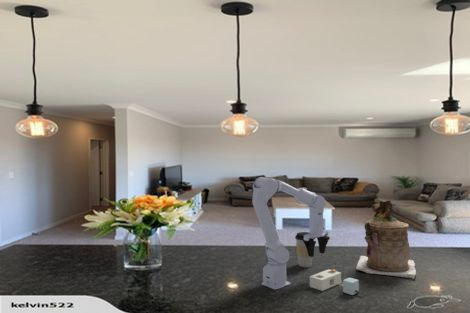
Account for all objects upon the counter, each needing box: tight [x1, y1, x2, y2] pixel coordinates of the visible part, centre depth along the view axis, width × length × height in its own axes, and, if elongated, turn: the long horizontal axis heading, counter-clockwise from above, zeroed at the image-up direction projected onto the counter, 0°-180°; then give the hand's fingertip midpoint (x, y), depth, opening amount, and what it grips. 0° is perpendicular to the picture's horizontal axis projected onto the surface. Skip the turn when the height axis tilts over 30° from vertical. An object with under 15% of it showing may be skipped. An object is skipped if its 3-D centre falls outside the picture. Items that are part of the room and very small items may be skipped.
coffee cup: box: [294, 231, 316, 268], centre depth 173 cm, size 9×9×15 cm
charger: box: [338, 277, 364, 296], centre depth 139 cm, size 9×4×5 cm, turn 41°
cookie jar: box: [355, 199, 417, 280], centre depth 168 cm, size 25×25×32 cm
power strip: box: [309, 268, 344, 292], centre depth 150 cm, size 6×18×5 cm, turn 131°
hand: (316, 254), depth 156 cm, fingers open, 7 cm apart
